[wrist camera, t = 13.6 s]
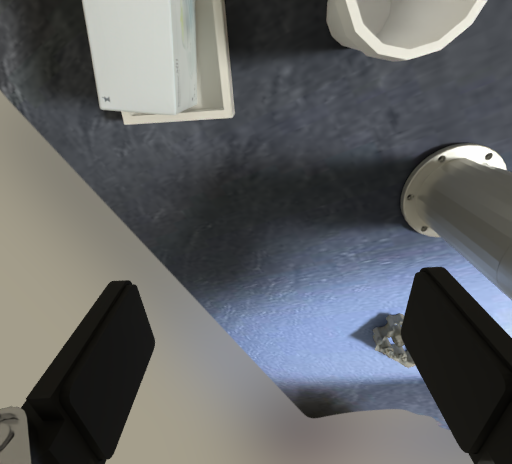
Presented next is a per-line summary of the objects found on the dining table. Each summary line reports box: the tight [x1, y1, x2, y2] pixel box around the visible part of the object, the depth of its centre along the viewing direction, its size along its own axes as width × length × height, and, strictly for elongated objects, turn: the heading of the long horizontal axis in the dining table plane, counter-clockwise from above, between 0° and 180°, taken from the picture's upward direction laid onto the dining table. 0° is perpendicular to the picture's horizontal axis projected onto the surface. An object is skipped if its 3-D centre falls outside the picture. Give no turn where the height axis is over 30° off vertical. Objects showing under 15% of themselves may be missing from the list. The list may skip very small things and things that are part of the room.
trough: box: [121, 0, 235, 125], centre depth 28 cm, size 12×16×4 cm
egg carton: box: [372, 313, 415, 368], centre depth 49 cm, size 11×8×4 cm
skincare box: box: [82, 0, 197, 115], centre depth 25 cm, size 10×6×10 cm, turn 176°
